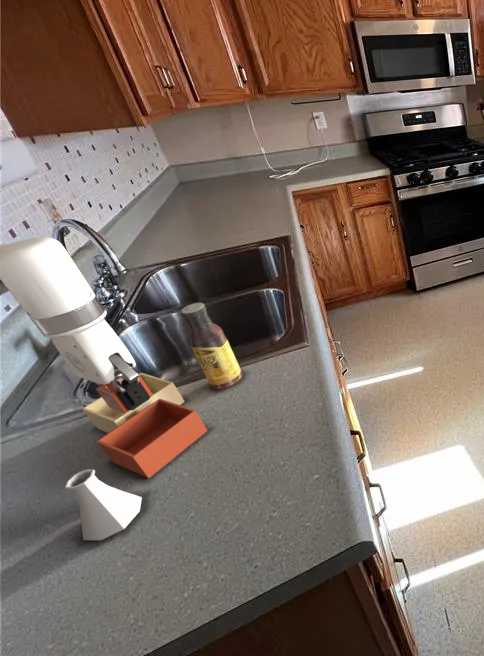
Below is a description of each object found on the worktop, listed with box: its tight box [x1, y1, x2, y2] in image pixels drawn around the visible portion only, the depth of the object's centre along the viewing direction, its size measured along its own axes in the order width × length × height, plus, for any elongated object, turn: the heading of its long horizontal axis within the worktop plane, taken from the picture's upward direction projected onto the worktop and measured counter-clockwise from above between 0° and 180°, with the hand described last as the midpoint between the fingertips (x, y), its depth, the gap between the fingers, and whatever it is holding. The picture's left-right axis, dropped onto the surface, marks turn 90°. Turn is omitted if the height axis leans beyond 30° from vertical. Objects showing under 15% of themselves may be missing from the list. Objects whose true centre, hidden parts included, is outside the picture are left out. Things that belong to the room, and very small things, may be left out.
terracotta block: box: [95, 376, 153, 414], centre depth 72 cm, size 4×4×4 cm
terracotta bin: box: [95, 399, 208, 479], centre depth 77 cm, size 11×11×6 cm
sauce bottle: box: [180, 302, 243, 390], centre depth 89 cm, size 7×6×20 cm
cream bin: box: [81, 372, 185, 434], centre depth 85 cm, size 11×11×6 cm
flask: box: [64, 469, 143, 541], centre depth 64 cm, size 7×7×10 cm
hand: (130, 400), depth 73 cm, fingers closed on terracotta block, 4 cm apart
